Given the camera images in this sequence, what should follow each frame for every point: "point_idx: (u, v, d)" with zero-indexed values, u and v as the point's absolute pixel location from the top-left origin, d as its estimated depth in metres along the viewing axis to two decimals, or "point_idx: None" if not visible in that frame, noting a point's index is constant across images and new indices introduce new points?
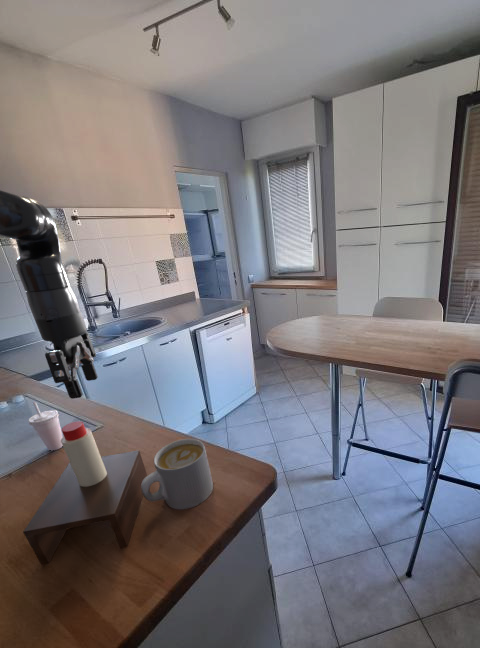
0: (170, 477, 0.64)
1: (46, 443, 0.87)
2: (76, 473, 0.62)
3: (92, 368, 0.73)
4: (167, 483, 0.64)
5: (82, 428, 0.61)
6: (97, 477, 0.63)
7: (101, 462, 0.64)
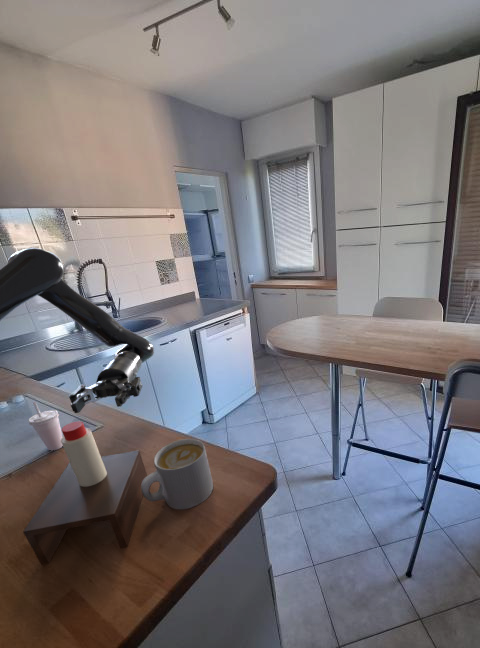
0: (170, 477, 0.64)
1: (46, 443, 0.87)
2: (76, 473, 0.62)
3: (83, 406, 0.73)
4: (167, 483, 0.64)
5: (82, 428, 0.61)
6: (97, 477, 0.63)
7: (101, 462, 0.64)
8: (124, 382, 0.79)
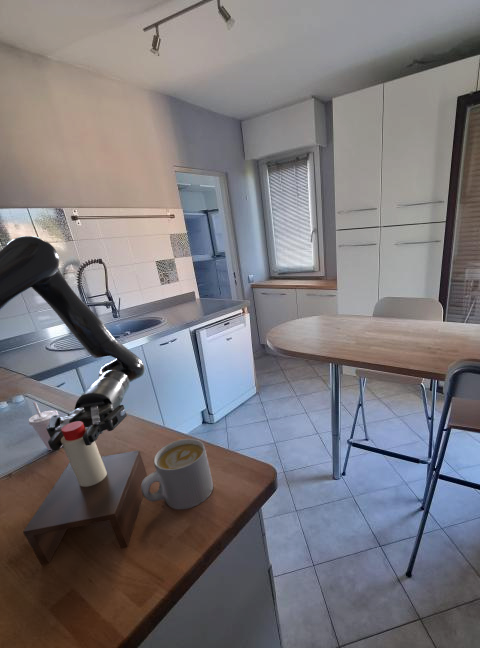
0: (170, 477, 0.64)
1: (46, 443, 0.87)
2: (76, 473, 0.62)
3: None
4: (167, 483, 0.64)
5: (82, 428, 0.61)
6: (97, 477, 0.63)
7: (101, 462, 0.64)
8: (107, 409, 0.68)
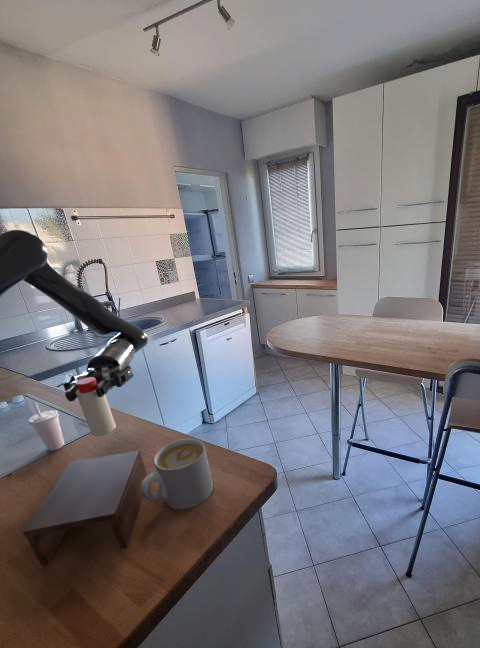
0: (170, 477, 0.64)
1: (46, 443, 0.87)
2: (89, 423, 0.70)
3: None
4: (167, 483, 0.64)
5: (94, 382, 0.68)
6: (107, 428, 0.71)
7: (111, 415, 0.72)
8: (116, 369, 0.75)
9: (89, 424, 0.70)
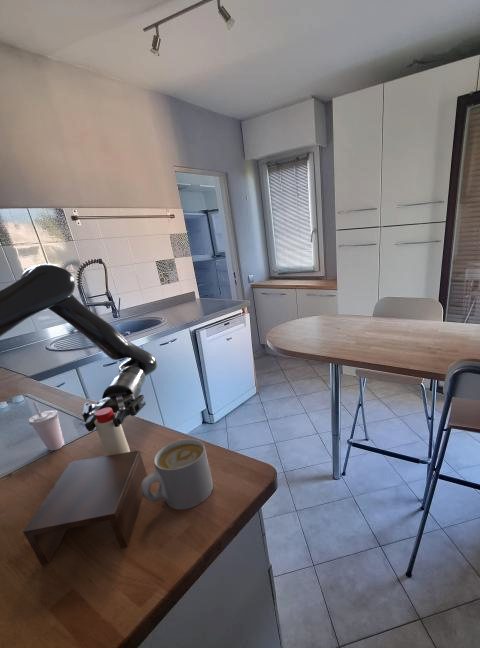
0: (170, 477, 0.64)
1: (46, 443, 0.87)
2: (106, 450, 0.76)
3: None
4: (167, 483, 0.64)
5: (111, 412, 0.74)
6: None
7: (126, 441, 0.78)
8: (129, 398, 0.81)
9: (106, 451, 0.76)
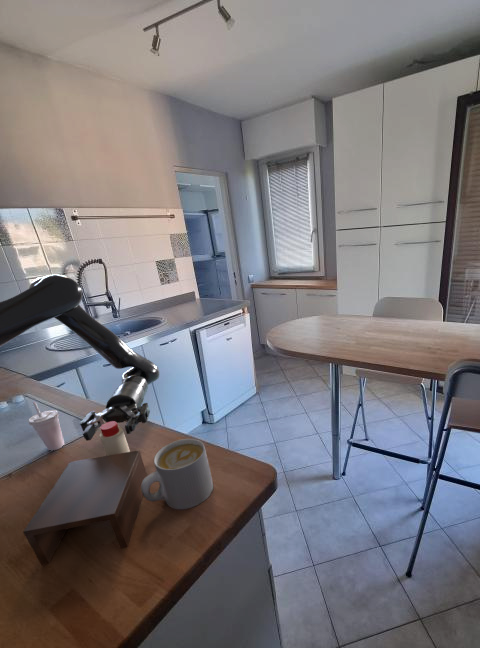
0: (170, 477, 0.64)
1: (46, 443, 0.87)
2: None
3: (94, 433, 0.77)
4: (167, 483, 0.64)
5: (116, 426, 0.76)
6: None
7: None
8: (132, 408, 0.82)
9: None
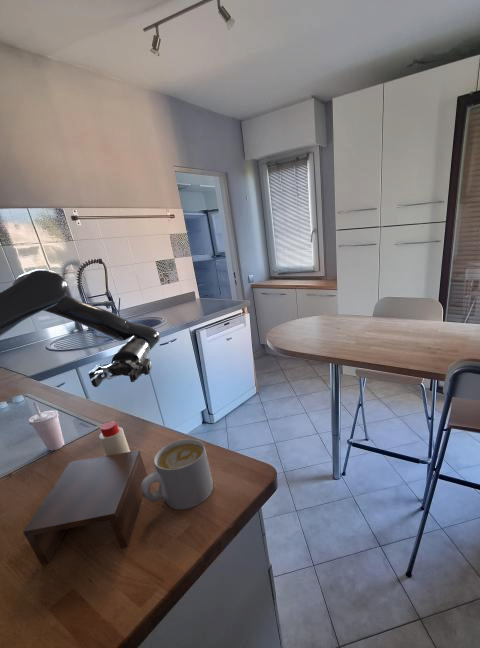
0: (170, 477, 0.64)
1: (46, 443, 0.87)
2: None
3: None
4: (167, 483, 0.64)
5: (116, 426, 0.76)
6: None
7: None
8: (136, 363, 0.90)
9: None
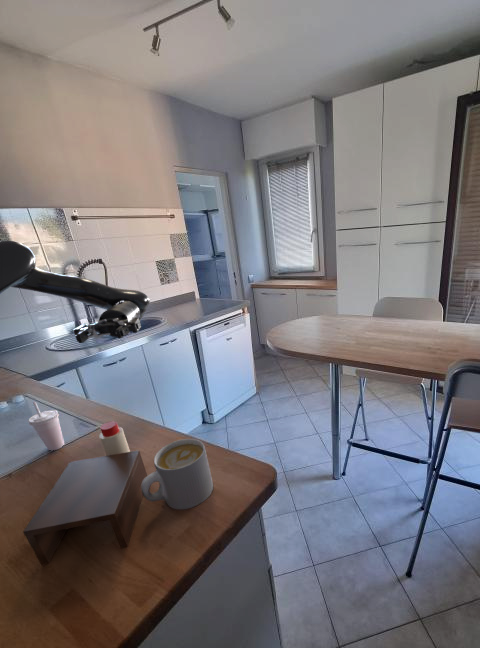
0: (170, 477, 0.64)
1: (46, 443, 0.87)
2: None
3: (86, 339, 0.80)
4: (167, 483, 0.64)
5: (116, 426, 0.76)
6: None
7: None
8: (124, 321, 0.85)
9: None
